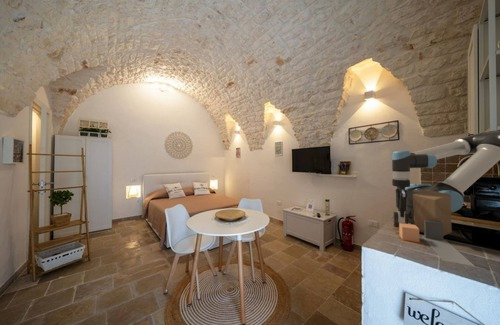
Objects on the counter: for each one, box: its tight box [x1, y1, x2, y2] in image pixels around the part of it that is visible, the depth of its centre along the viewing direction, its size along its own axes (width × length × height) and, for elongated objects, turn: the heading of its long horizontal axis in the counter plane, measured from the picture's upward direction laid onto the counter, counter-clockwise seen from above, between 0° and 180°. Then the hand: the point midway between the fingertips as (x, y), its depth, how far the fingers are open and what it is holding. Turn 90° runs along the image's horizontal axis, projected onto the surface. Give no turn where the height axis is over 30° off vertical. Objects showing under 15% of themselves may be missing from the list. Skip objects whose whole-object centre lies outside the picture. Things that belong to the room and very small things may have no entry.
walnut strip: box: [390, 211, 426, 247], centre depth 91 cm, size 24×8×9 cm, turn 151°
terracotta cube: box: [399, 223, 420, 242], centre depth 87 cm, size 6×6×6 cm
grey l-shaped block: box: [421, 220, 475, 267], centre depth 77 cm, size 24×8×9 cm, turn 151°
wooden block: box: [413, 190, 452, 237], centre depth 92 cm, size 10×10×20 cm
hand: (401, 221), depth 101 cm, fingers closed on walnut strip, 2 cm apart
